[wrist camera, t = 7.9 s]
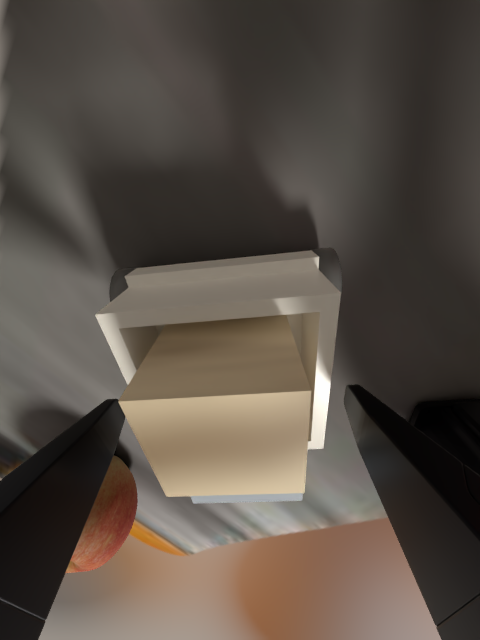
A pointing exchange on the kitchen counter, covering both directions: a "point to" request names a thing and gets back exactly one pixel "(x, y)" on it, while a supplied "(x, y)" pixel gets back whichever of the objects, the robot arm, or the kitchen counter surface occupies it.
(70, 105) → the kitchen counter surface
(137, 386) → the cream wooden cube
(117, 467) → the apple
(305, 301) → the toy truck
